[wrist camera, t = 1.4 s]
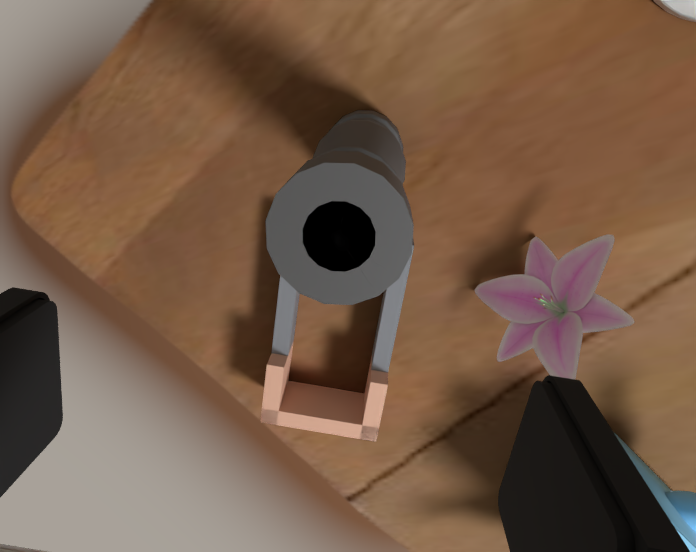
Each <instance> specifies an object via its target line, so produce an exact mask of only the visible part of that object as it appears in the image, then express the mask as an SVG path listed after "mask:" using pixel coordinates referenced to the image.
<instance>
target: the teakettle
mask: <svg viewBox="0 0 696 552" xmlns="http://www.w3.org/2000/svg"><path fill="white" fill-rule="evenodd" d="M614 434H615V435H616V437H617V439H618V440H619V442H620V443H621V445H622V446H623V448H624V449H625V451H626V453H627V454H628V456H629V457H630V459H631V460H632V462H633V463H634V465H635V467H636V468H637V470H638V471H639V473H640V474H641V476H642V477H643V479H644V481H645V482H646V484H647V485H648V487H649V488H650V490H651V491H652V493H653V495H654V496H655V498H656V499H657V501H658V502H659V504H660V505H661V507H662V509H663V510H664V512H665V513H666V515H667V516H668V518H669V519H670V521H671V523H672V524H673V526H674V527H675V529H676V530H677V532H678V533H679V535H680V537H681V538H682V540H683V541H684V543H685V544H686V546H687V547H688V549H689V551H690V552H696V493H694V492H689V491H671V490H670V488H669V487H668V486H667V485H666V484H665V483H664V482H663V481H662V480H661V479H660V478H659V477H658V476H657V475H656V474H655V473H654V472H653V471H652V470H651V469H650V468H649V467H648V466H647V465H646V464H645V463H644V462H643V461H642V460H641V459H640V458H639V457H638V456H637V455H636V454H635V453H634V452H633V451H632V450H631V449H630V448H629V447H628V446H627V445H626V444H625V443H624V442H623V441H622V440H621V439H620V438H619V437H618V435H617V434H616V433H614Z"/></svg>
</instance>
